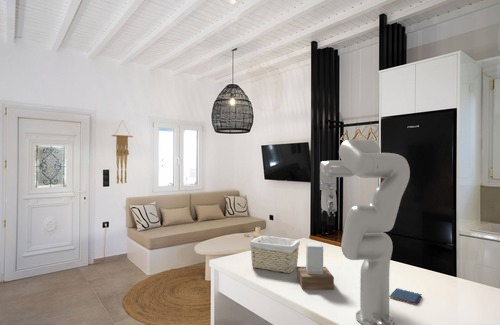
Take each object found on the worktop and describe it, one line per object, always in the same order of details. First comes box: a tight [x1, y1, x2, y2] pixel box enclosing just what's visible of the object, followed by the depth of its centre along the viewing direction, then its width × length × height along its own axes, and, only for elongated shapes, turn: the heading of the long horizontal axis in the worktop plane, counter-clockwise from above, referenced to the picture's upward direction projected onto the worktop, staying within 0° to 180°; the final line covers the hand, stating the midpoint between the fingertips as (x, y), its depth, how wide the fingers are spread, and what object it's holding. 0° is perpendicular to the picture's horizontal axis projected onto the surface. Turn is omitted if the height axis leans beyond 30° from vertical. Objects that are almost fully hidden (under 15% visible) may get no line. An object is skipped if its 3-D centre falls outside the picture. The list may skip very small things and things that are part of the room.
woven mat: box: [389, 287, 423, 306], centre depth 129 cm, size 10×11×2 cm
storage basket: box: [249, 235, 301, 274], centre depth 166 cm, size 24×16×15 cm
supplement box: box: [305, 242, 324, 275], centre depth 143 cm, size 7×7×13 cm
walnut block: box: [296, 266, 335, 291], centre depth 143 cm, size 14×14×6 cm
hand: (327, 222), depth 146 cm, fingers open, 9 cm apart
